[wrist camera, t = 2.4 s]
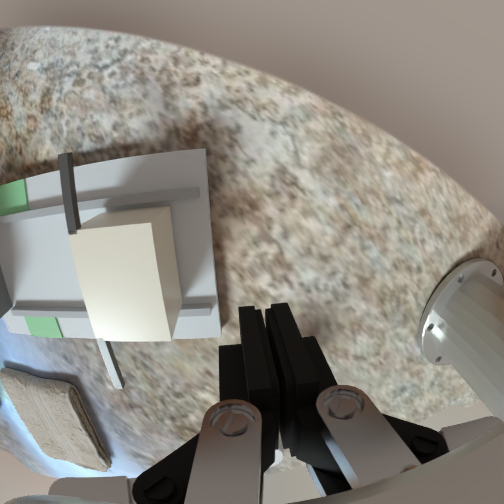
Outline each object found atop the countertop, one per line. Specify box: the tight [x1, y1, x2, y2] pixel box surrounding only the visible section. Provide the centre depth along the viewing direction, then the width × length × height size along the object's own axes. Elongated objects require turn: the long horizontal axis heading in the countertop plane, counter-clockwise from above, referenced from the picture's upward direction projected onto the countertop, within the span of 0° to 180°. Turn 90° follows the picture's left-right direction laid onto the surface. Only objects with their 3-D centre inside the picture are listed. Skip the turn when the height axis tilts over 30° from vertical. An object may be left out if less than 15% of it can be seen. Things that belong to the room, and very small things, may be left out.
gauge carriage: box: [58, 153, 183, 389], centre depth 18 cm, size 5×15×5 cm, turn 3°
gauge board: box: [0, 148, 222, 339], centre depth 18 cm, size 22×14×7 cm, turn 93°
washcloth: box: [0, 368, 111, 472], centre depth 27 cm, size 12×18×3 cm, turn 178°
